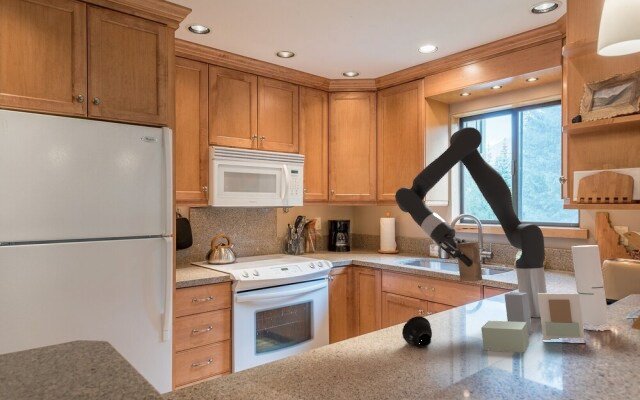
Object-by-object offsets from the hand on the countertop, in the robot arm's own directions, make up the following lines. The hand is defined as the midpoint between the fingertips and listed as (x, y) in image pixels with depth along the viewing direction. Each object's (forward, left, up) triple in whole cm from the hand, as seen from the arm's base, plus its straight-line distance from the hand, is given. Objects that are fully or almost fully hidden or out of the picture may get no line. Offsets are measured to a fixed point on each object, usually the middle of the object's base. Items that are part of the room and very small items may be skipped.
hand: (475, 264), depth 134 cm
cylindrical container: (-20, +26, -22) cm, 39 cm away
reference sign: (0, +23, -21) cm, 32 cm away
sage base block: (+12, +13, -22) cm, 28 cm away
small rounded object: (+20, -11, -22) cm, 32 cm away
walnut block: (0, -2, -5) cm, 6 cm away
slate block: (-4, +10, -21) cm, 24 cm away
